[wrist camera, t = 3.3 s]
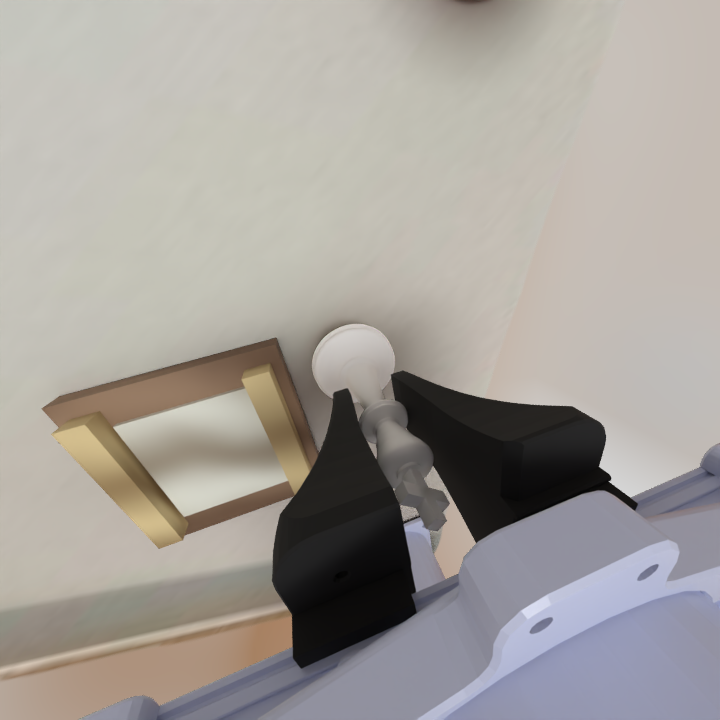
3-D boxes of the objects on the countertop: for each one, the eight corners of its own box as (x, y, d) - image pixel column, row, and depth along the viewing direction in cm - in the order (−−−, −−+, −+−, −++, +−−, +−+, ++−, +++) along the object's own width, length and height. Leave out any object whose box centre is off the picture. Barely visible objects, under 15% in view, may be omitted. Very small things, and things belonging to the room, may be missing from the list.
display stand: (325, 472, 22) (329, 497, 19) (170, 526, 20) (156, 560, 18) (276, 337, 16) (274, 352, 14) (59, 396, 15) (20, 422, 12)
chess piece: (365, 407, 18) (444, 583, 9) (296, 381, 15) (311, 576, 7) (407, 345, 16) (547, 479, 8) (339, 307, 14) (424, 430, 5)
